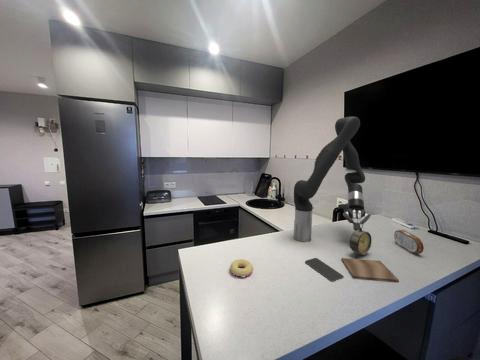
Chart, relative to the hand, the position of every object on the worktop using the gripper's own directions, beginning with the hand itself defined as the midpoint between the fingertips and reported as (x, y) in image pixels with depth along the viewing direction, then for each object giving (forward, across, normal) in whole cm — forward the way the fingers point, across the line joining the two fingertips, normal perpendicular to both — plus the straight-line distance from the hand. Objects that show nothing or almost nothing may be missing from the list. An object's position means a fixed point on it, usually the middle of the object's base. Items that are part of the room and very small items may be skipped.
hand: (357, 230), depth 98 cm
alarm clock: (+11, +1, +2) cm, 11 cm away
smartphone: (+25, -15, -11) cm, 31 cm away
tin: (0, +23, +13) cm, 27 cm away
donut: (+36, -46, -22) cm, 62 cm away
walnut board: (+20, +2, -7) cm, 21 cm away
